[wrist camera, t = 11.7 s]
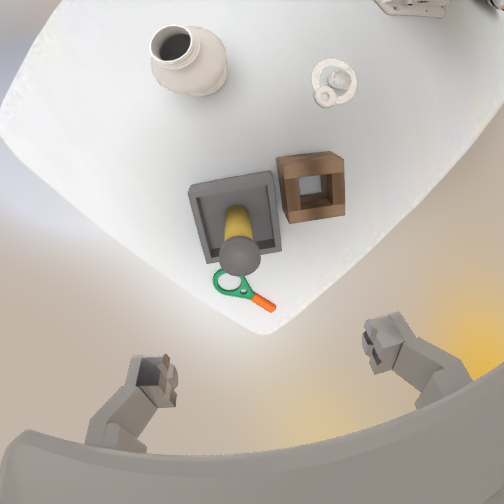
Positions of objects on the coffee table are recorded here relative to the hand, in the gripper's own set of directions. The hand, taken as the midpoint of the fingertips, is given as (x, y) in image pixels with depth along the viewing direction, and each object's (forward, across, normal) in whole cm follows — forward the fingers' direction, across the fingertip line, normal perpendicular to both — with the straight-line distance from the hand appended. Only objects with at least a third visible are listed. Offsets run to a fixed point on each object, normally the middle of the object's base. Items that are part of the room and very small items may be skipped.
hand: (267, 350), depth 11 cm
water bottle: (+37, +3, -14) cm, 40 cm away
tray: (+37, +2, +10) cm, 38 cm away
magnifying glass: (+38, +3, +27) cm, 47 cm away
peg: (+36, +2, +10) cm, 38 cm away
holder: (+37, -11, +6) cm, 39 cm away
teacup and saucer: (+38, -14, -11) cm, 42 cm away
